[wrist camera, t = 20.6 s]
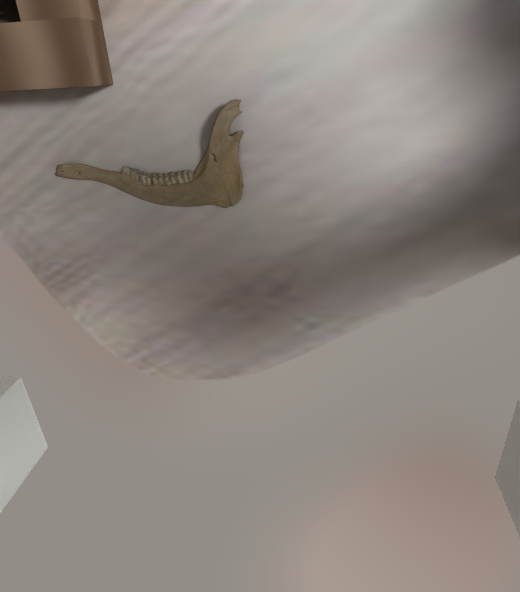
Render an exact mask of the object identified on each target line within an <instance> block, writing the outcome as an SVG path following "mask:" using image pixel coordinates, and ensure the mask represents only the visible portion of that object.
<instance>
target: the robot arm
mask: <svg viewBox="0 0 520 592" xmlns="http://www.w3.org/2000/svg"><path fill="white" fill-rule="evenodd" d="M47 448H48V446H47V444H46V441H45V439H44V436H43V434H42V431H41V428H40V425H39V423H38V420H37V418H36V415H35V413H34V410H33V407H32V405H31V402H30V400H29V397H28V395H27V392H26V389H25V387H24V384H23V382H22V379H21V377H13V376H0V513H1V511H2V510H3V509H4V507H5V506H6V505H7V503H8V502H9V500H10V499H11V498H12V496H13V495H14V493H15V492H16V491H17V489H18V488H19V487H20V485H21V484H22V482H23V481H24V479H25V478H26V477H27V475H28V474H29V473H30V471H31V470H32V468H33V467H34V466H35V464H36V463H37V462H38V460H39V459H40V457H41V456H42V455H43V453H44V452H45V450H46V449H47ZM495 478H496V481H497V483H498V486H499V488H500V490H501V493H502V495H503V498H504V500H505V502H506V505H507V507H508V509H509V512H510V514H511V517H512V519H513V521H514V524H515V526H516V529H517V531H518V533H519V536H520V399H518V402H517V406H516V409H515V412H514V415H513V419H512V422H511V425H510V429H509V433H508V436H507V439H506V442H505V446H504V449H503V452H502V456H501V460H500V463H499V466H498V470H497V473H496V476H495Z"/></svg>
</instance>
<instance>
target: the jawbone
mask: <svg viewBox="0 0 520 592" xmlns="http://www.w3.org/2000/svg"><path fill="white" fill-rule="evenodd" d="M240 102H241V100H237V99H236V100H231V101H230V102H228V103H227V104H226V105H225V106H224V107H223V108H222V110H221V111H220V113H219V114H218V115H217V118H216V120H215V123H214V126H213V129H212V133H211V137H210V142H209V145H208V149H207V152H206V154H205V156H204V158H203V160H202V161H201V163H200V164H199V165H198V167H197V168H196V170H195V171H194V172H193V173H192V172H191V171H185V170H184V171H183V172H181V171H180V172H177V173H176V174H175V172H171V173H170V174H169V173H164V175H163V174H160V173H159V174H158V175H157V173H153V174H152V175H151V174H149V175H147V173H144V172H143V173H141V172H139V171H138V170H136V169H133V170H131V168H128V167H123V170H122V173H119V172H115V171H109V170H103V169H99V168H96V167H91V166H87V165H81V164H68V165H57V169H58V170H57V173H55V175H56V176H60V177H65V178H71V179H85V180H94V181H99V182H102V183H106V184H109V185H111V186H113V187H116V188H118V189H120V190H122V191H124V192H126V193H128V194H131V195H133V196H135V197H138V198H140V199H143V200H146V201H148V202H152V203H155V204H160V205H167V206H184V207H188V206H200V205H209V204H215V205H219V206H221V207H229V206H234V205H235V204H236V203H238V202H239V200H240V199H241V194H242V188H243V182H242V176H241V171H240V167H239V161H238V148H239V143H240V139H241V137H242V135H243V134H244V131H237V132H235V133H234V135H232V136H230V135H229V129H230V126H231V123H232V121H233V120H234V119H235V118H236V117H237V116H238V115H239V114H240V113H242V111H240V108H239V104H240ZM196 196H198V197H196Z"/></svg>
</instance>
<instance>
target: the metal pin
mask: <svg viewBox="0 0 520 592" xmlns="http://www.w3.org/2000/svg"><path fill="white" fill-rule="evenodd" d="M0 14H3V15H9V16H13V15H17V14H19V11H18V7H17V4H16V0H0Z"/></svg>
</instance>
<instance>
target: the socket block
mask: <svg viewBox="0 0 520 592" xmlns="http://www.w3.org/2000/svg"><path fill="white" fill-rule="evenodd" d="M16 4H17V7H18V11H19V15H20V19H21V22H10V23H0V91H16V90H34V89H52V88H70V87H88V86H101V85H112V84H113V80H112V75H111V70H110V64H109V59H108V54H107V48H106V43H105V38H104V32H103V27H102V22H101V17H100V11H99V6H98V1H97V0H16Z"/></svg>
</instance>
